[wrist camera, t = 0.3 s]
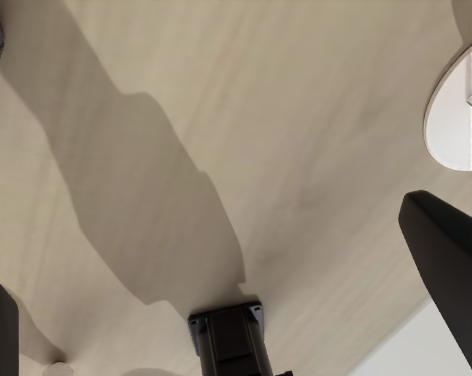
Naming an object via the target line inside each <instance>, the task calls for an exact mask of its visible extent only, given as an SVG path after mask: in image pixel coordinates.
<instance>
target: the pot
mask: <svg viewBox="0 0 472 376" xmlns="http://www.w3.org/2000/svg"><path fill="white" fill-rule="evenodd" d="M4 38H5V37H4V33H3V30H2V27H1V24H0V57H1V54H2V51H3V48H4V43H2V42H3V40H4Z"/></svg>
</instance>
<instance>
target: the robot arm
mask: <svg viewBox="0 0 472 376" xmlns="http://www.w3.org/2000/svg"><path fill="white" fill-rule="evenodd" d="M398 220H399V225H400V228H401V231H402V233H403V235H404V238H405V240H406V242H407V245H408V247H409V250H410V252H411V254H412V257H413V259H414V261H415V264H416V266H417V269H418V271H419V273H420V276H421V278H422V280H423V282H424V284H425V286H426V288H427V290H428V292H429V294H430V295H431V297H432V299H433V301H434V302H435V304H436V306H437V308H438V310H439V312H440V313H441V315H442V317H443V319H444V320H445V322H446V324H447V326H448V328H449V329H450V331H451V333H452V335H453V336H454V338H455V340H456V342H457V343H458V345H459V347H460V349H461V350H462V353H463V354H464V356H465V358H466V359H467V361H468V363H469V365H470V367H471V369H472V217H470V216H469V215H467V214H465V213H464V212H462V211H460V210H458V209H457V208H455V207H453V206H452V205H450V204H448V203H446V202H445V201H443V200H441V199H440V198H438V197H436V196H434V195H433V194H431V193H429V192H427V191H425V190H418V191H413V192H409V193H407V194H406V195H405V196H404V198H403V202H402V206H401V209H400V213H399V217H398ZM188 324H189V328H190V331H191V335H192V339H193V343H194V346H195V350H196V354H197V356H199V357H200V361H201V368H202V375H203V376H273V373H272V369H271V366H270V362H269V359H268V355H267V351H266V348H265V344H264V323H263V307H262V303H261V302H259V301H257V302H252V303H247V304H242V305H238V306H233V307H229V308H224V309H220V310H215V311H210V312H206V313H201V314H197V315H192V316H190V317H189V318H188ZM0 376H19V312H18V306H17V304H16V302H15V300H14V299H13V298H12V297H11V296H10V295H9V293H8V292H7V291H6V290H5V289H4V288H3V286H2V285H1V284H0ZM276 376H293V373H292V371H287V372H285V373H284V374H280V375H276Z"/></svg>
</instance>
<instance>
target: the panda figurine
mask: <svg viewBox="0 0 472 376" xmlns="http://www.w3.org/2000/svg"><path fill="white" fill-rule="evenodd" d="M423 135H424V141H425V144H426V147H427V149H428V151H429V152H430V154H431V155H432V156H433V157H434V158H435V159H436V160H437V161H438V162H439V163H440V164H442V165H444V166H445V167H448V168H451V169H454V170H461V171H472V46H471V47H470V48H469V49H468V50H466V51H465V52H464V53H463V54H462V55H461V56H460V57H459V58H458V60H457V61H456V62H455V63H454V64H453V65H452V66H451V68H450V69H449V70H448V71H447V73H446V74H445V75H444V77H443V78H442V80H441V81H440V83H439V84H438V86H437V88H436V89H435V91H434V93H433V95H432V97H431V100H430V102H429V104H428V107H427V110H426V114H425V118H424V126H423Z"/></svg>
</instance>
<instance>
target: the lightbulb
mask: <svg viewBox="0 0 472 376" xmlns="http://www.w3.org/2000/svg"><path fill="white" fill-rule="evenodd" d="M42 376H74V371H73V369H72V368H71V367H70V366H68V365H65V364H64V363H62V362H57V363H54V364H53V365H51V366H49V367H47V368H46V369H45V370H44V371H43V373H42Z"/></svg>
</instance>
